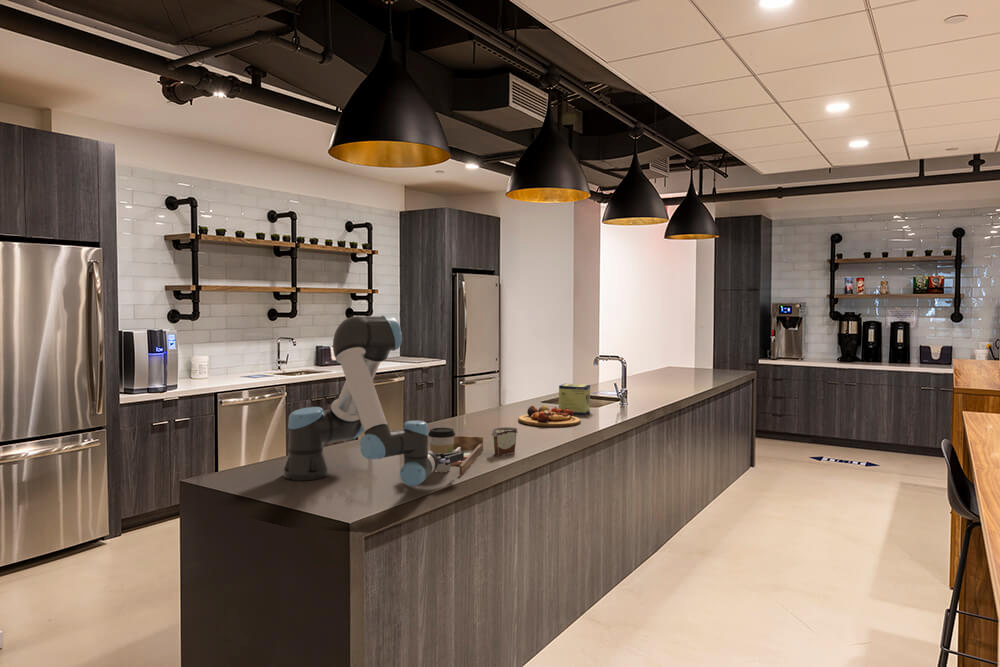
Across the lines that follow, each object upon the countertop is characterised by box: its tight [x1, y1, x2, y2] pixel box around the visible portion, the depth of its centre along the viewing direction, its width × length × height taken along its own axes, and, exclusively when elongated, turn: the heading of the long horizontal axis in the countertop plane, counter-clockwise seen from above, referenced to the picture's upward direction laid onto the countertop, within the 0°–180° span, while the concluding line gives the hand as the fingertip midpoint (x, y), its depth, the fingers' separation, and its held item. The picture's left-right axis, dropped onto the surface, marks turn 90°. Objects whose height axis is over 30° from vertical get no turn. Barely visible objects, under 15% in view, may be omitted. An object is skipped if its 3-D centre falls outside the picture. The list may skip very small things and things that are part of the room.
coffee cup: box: [428, 427, 456, 473], centre depth 248 cm, size 10×10×15 cm
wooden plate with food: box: [517, 404, 581, 428], centre depth 349 cm, size 32×32×8 cm
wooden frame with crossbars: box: [429, 435, 484, 477], centre depth 262 cm, size 18×40×6 cm, turn 171°
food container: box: [491, 426, 518, 457], centre depth 277 cm, size 12×6×10 cm, turn 134°
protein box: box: [558, 383, 591, 416], centre depth 378 cm, size 10×16×16 cm
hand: (441, 449), depth 244 cm, fingers open, 13 cm apart
